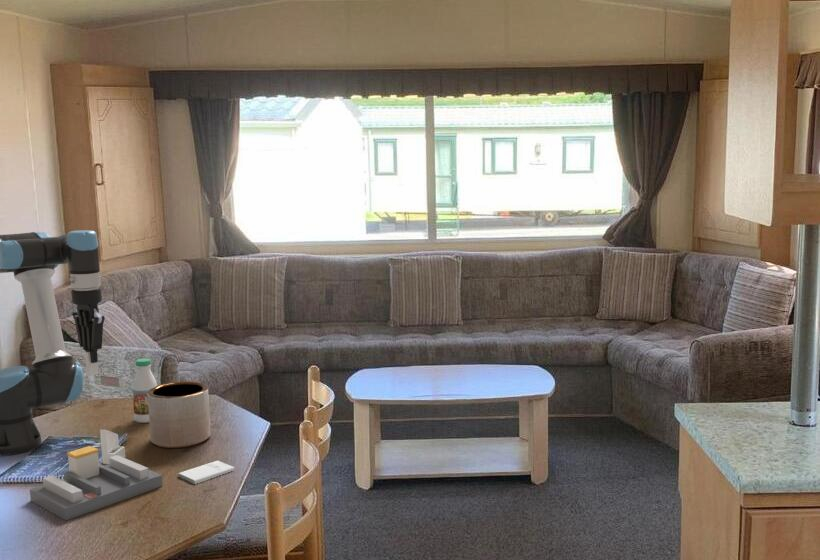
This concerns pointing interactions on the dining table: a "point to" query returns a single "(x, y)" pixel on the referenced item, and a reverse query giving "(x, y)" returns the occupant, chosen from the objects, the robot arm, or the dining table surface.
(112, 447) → the white angled block
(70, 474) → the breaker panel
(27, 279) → the robot arm
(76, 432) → the dining table surface
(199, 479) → the external hard drive
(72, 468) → the block
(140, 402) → the milk bottle
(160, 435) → the planter
